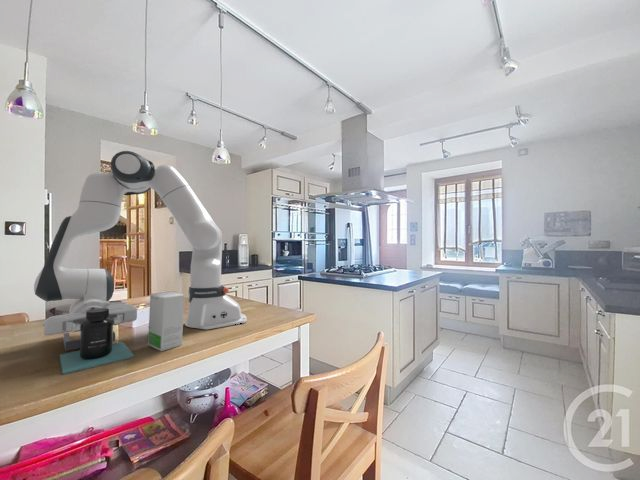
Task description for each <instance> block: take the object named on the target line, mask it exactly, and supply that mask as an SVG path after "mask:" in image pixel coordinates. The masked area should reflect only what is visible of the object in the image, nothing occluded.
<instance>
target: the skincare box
mask: <svg viewBox="0 0 640 480" xmlns="http://www.w3.org/2000/svg"><path fill="white" fill-rule="evenodd" d="M149 297H150V298H149V315H148V316H149V319H148V320H149V321H148V338H147V339H148V340H147V345H148V346H149V347H151V348H153V349H156V350H157V351H160V352H164V351H168V350H171V349H174V348H177V347H180V346H182V345H183V333H184V332H183V330H184V328H183V327H184V312H185V311H184V309H185V294H182V293H179V292H175V291H171V290H170V291H169V290H168V291H161V292H155V293H150V295H149Z"/></svg>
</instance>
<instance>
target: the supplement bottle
mask: <svg viewBox="0 0 640 480" xmlns="http://www.w3.org/2000/svg"><path fill="white" fill-rule="evenodd" d="M108 316H109V309H107V308H98V309H92V310H88V311H86V319H87V320H86V321H85V322H83V323H82V325H81V330H80V331H79V332H80V334H79V335H80V337H79V338H80V348H79V351H80V357H81V358H82V359H96V358H101V357H104V356H106V355H108V354H110V353H111V351H112V344H113V342H114V341H113V331H114V325H113V321H112V319H110V318H108Z"/></svg>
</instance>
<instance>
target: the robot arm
mask: <svg viewBox="0 0 640 480" xmlns="http://www.w3.org/2000/svg"><path fill="white" fill-rule="evenodd" d="M110 171H111V172H107V173H105V172H94V173H90V174H89V175H88V176H87V177H86V178H85V180H84V183H83V186H82V189H81V192H80V197H79V202H78V207H77V209H76V210H75V211H74V213H73V214H72V215H69V216H66V217H64V218H63V220H62V221H61V223H60V225H59V227H58V229H57V232H56V234H55V236H54V238H53V241H52V244H51V246H50V249H49V252H48V254H47V256H46V259H45V261H44V262H45V263H44V265H43V267H42V269H41V270H40V271H39V273H38V275H37V276H36V278H35V280H34V284H33V290H34V291H33V292H34V295H35V296H37V297H38V298H39V299H41V300H43V301H45V302H56V301H63V300H74V301H73V302H72V303H71V305H70V307H69V312H68V313H66V314H59V315H53V316H49V317H48V318H46V320H44V321H43V322H42V327H44V329H43V330H44V335H45V336H52V335H57V334H64V333H70V332H72V333H76V332H81V325H82V323H83V322H85V321H86V320H87V319H86V311H88V310H92V309H98V308H107V309H109V316H108V318H110V319H112V321H113V326H117V325H118V326H119V325H121V324H124V323H130V322H134V321H137V318H138V310H137V308H136V307H135V306H134V305H132V304H130V303H129V304H128V303H127V301H125V300H111V299H112V297H113V295H114V290H115V281H114V277H113V275H112V273H111V272H110V271H109V270H108V269H106V268H91V267H90V268H89V267H88V268H79V267H77V268H76V267H75V268H73V267H65V266H64V265H63V264H64V261H65V258H66V256H67V253H68V250H69V248H70V246H71V243H72V242H73V241H74V240H75V239H77V238H78V237H83V236H86V235H90V234H95V233H96V234H97V233H101V232H105V231H107V230H110V229H112V228H113V227H115V225H117V224H118V222H119V221H120V215H121V211H122V202H123V201H122V200H123V197H124V196H133V195H142V194H145V193H147V192H149V191H150V190H153V191H155V193H156V194H157V195H158V196H159V198H160V199H161V201H162V202H163V203H164V205H165V206H166V208H167V209H168V210H169V212H170V213H171V214H172V216H173V218H174V219H175V220H176V222H177V224H178V227H179V228H180V230H182V232H183V234H184V236H186V237H185V238H187V240H188V242H189V243H190V245H191V246H192V252H191V253H192V254H191V262H190V276H189V277H190V283H189V285H190V286H189V287H188V302H189V304H188V311H187V316H186V320H185V323H184V326H186V327H188V328H193V329H200V330H203V331H204V330H211V329H217V328H224V327H229V326H235V324H236V325H241V324H240V323H242V324H245V323H246V322H247V321H248V319H247V315H245V314H244V313H242V309H241V305H240V304H239V303H238V302H237V301H236V300H234V299H233V298H232V297H231V296H229V295H228V292H229V291H230V289H229V288H228V287H226V286H224V285H222V262H223V261H222V260H223V259H222V258H223V232H222V230H221V229H220V228H219V227H218V225H217V224H216V223H215V221H214V220H213V217H212V216H211V215H210V214H209V212H208V210H207V209H206V207H205V206H204V205H203V203H202V202H201V200H200V199H199V197H198V195H197V194H196V193H195V192H194V190H193V189H192V187H191V186H190V184H189V183H188V182H187V180H186V179H185V177H183V175H182V174H181V173H180V172H179V171H178V170H177V169H176V168H175V167H174V166H172V165H169V164H160V165H158V166H155V164H154V163H153V162H152V161H151V160H149V159H147V158H145V157H143V156H142V155H140V154H139V153H136V152H135V151H129V150H121V151H118V152H117V153H115V154H114V155H113V156H112V157H111V161H110Z"/></svg>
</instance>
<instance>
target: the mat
mask: <svg viewBox="0 0 640 480" xmlns="http://www.w3.org/2000/svg"><path fill="white" fill-rule="evenodd" d="M134 356H135V354H134V353H133V352H132V351H131V350H130V348H129V347H128V346H127V344H125V342H124V341H119V342H114V343H112V351H111V353H110V354H108V355H106V356H104V357H101V358H96V359H82V358H81V357H80V350H76V351H71V352H66V353H61V354H59V362H60V366H61V373H62V375H66V374H71V373H75V372H78V371H82V370H83V371H84V370H87V369H91V368H94V367H95V368H96V367H99V366H104V365H106V364H111V363H116V362H120V361H123V360H127V359H133V358H134Z"/></svg>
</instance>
